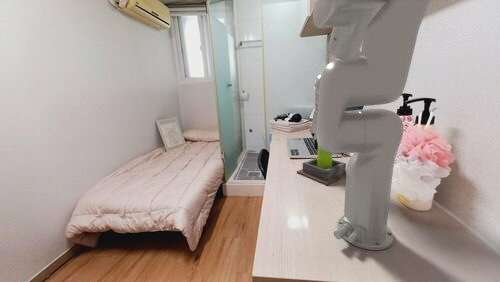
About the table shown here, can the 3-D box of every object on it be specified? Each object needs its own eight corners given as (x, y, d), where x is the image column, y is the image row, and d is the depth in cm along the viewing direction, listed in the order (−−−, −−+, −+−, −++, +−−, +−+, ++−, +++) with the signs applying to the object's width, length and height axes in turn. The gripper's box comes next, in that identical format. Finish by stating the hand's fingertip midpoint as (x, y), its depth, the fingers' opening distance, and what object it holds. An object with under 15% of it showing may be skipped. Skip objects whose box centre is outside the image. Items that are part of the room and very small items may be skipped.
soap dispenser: (313, 170, 88) (314, 124, 83) (321, 165, 93) (322, 121, 88) (326, 173, 84) (328, 125, 79) (334, 168, 89) (335, 122, 84)
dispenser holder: (327, 185, 78) (327, 174, 77) (296, 173, 92) (296, 162, 90) (352, 174, 86) (352, 163, 85) (320, 164, 100) (320, 154, 99)
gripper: (350, 106, 77) (348, 153, 81) (314, 105, 91) (314, 144, 95) (338, 109, 73) (336, 157, 77) (302, 107, 87) (302, 148, 92)
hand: (324, 150), depth 86 cm, fingers closed on soap dispenser, 5 cm apart
